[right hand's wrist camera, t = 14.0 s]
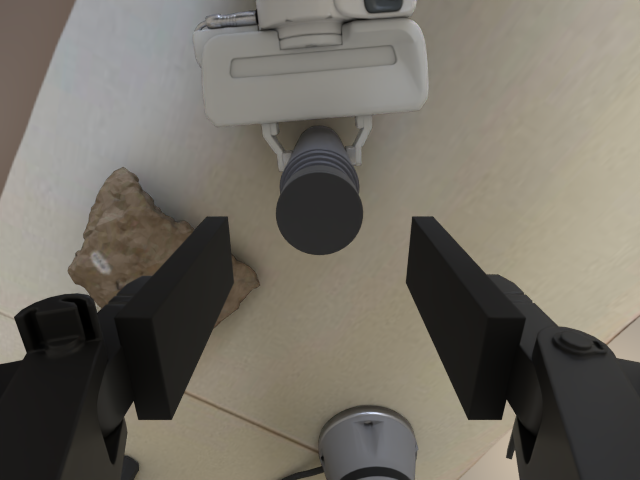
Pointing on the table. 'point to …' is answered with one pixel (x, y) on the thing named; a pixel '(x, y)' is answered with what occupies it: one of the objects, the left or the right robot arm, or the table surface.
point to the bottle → (319, 154)
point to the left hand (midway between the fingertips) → (320, 167)
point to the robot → (129, 469)
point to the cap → (319, 210)
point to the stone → (136, 244)
